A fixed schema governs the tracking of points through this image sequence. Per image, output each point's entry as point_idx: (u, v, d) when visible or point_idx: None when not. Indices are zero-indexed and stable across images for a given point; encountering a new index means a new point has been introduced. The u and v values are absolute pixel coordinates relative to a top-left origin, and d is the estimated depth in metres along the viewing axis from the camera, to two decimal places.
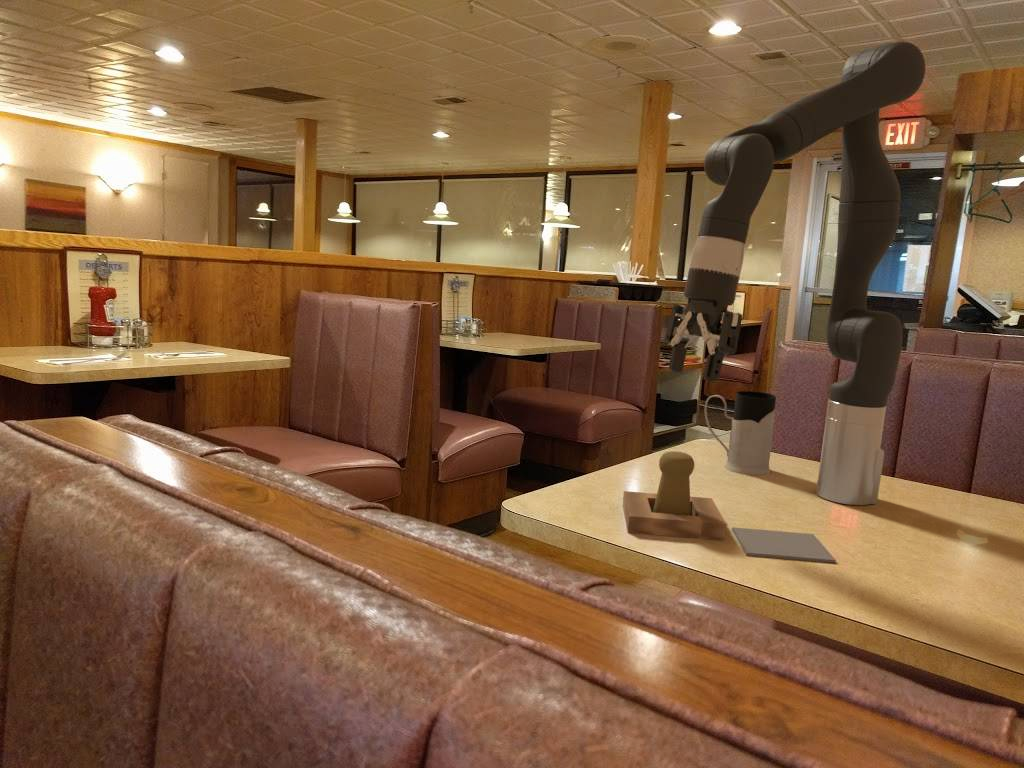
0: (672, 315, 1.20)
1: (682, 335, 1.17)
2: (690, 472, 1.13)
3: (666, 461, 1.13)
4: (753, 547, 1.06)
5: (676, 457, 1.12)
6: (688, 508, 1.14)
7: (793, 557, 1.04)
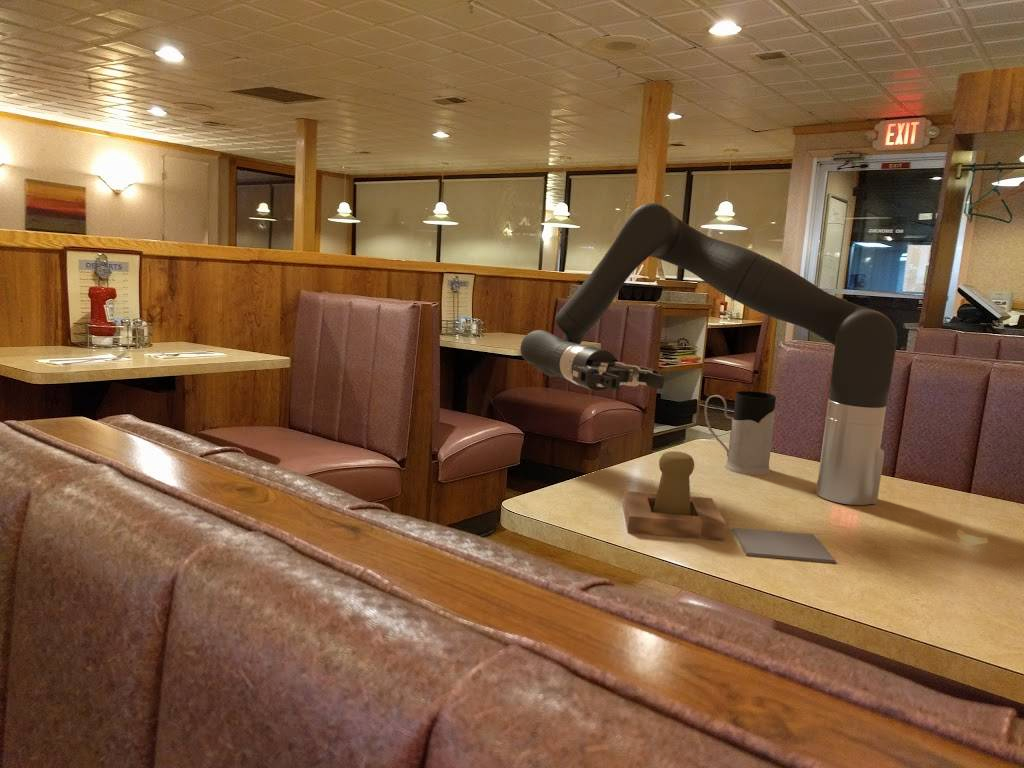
0: None
1: (634, 382, 1.29)
2: (690, 472, 1.13)
3: (666, 461, 1.13)
4: (753, 547, 1.06)
5: (676, 457, 1.12)
6: (688, 508, 1.14)
7: (793, 557, 1.04)
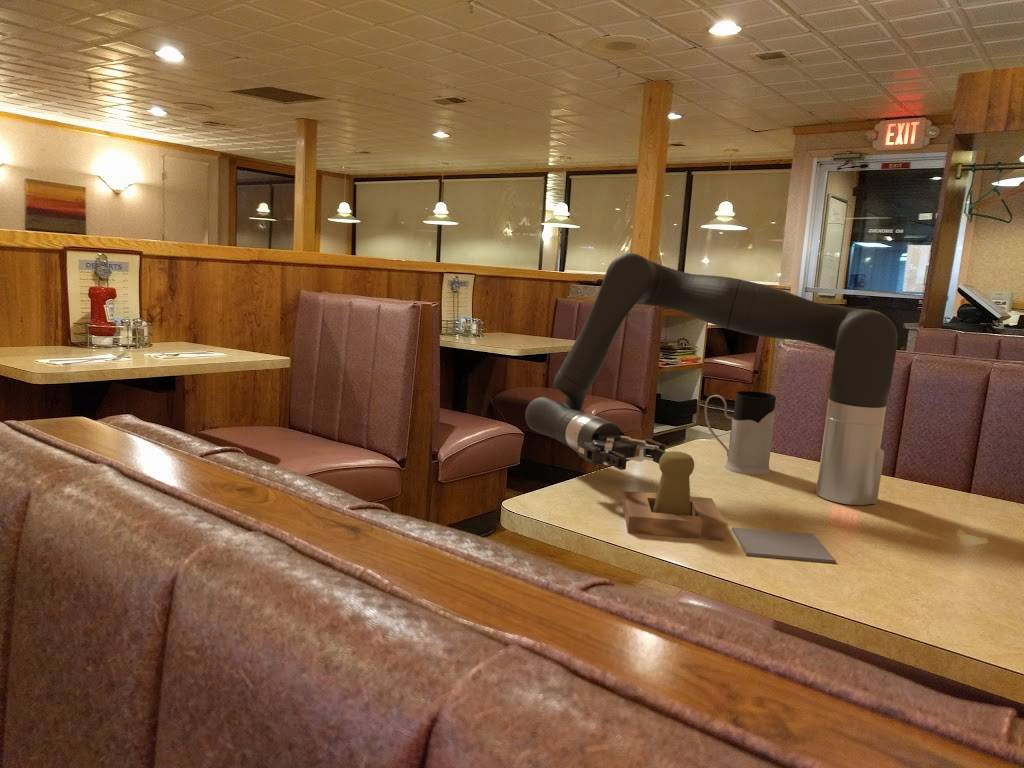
0: None
1: (641, 458, 1.28)
2: (690, 472, 1.13)
3: (666, 461, 1.13)
4: (753, 547, 1.06)
5: (676, 457, 1.12)
6: (688, 508, 1.14)
7: (793, 557, 1.04)
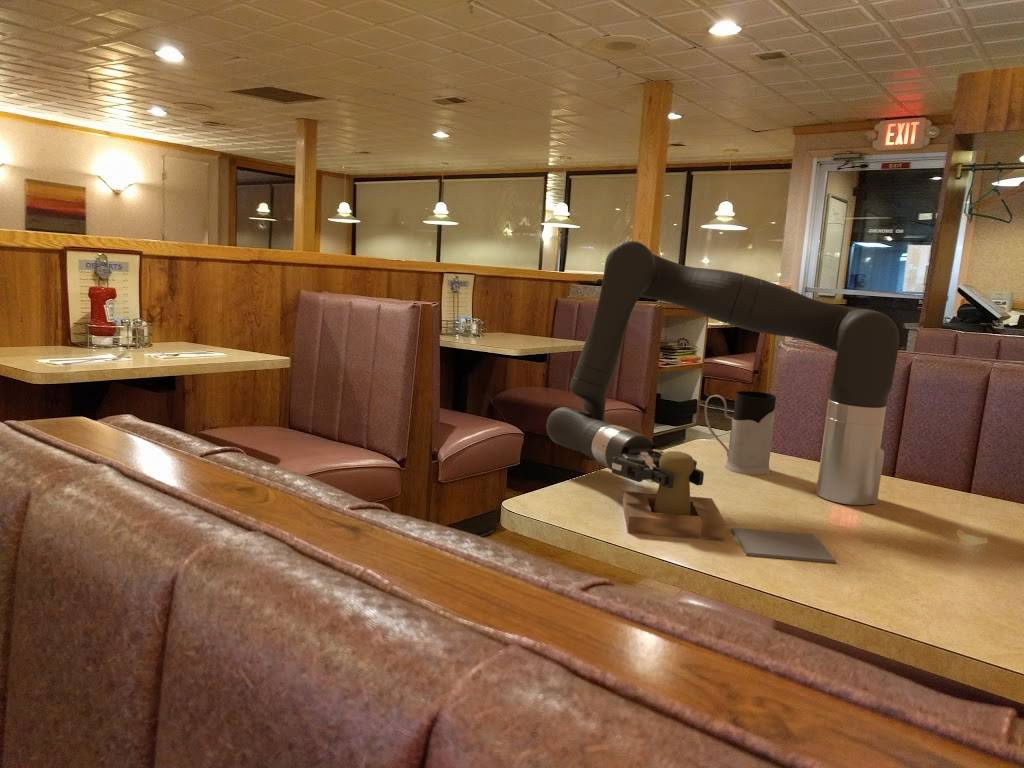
0: None
1: None
2: (690, 472, 1.13)
3: (666, 461, 1.13)
4: (753, 547, 1.06)
5: (676, 457, 1.12)
6: (688, 508, 1.14)
7: (793, 557, 1.04)
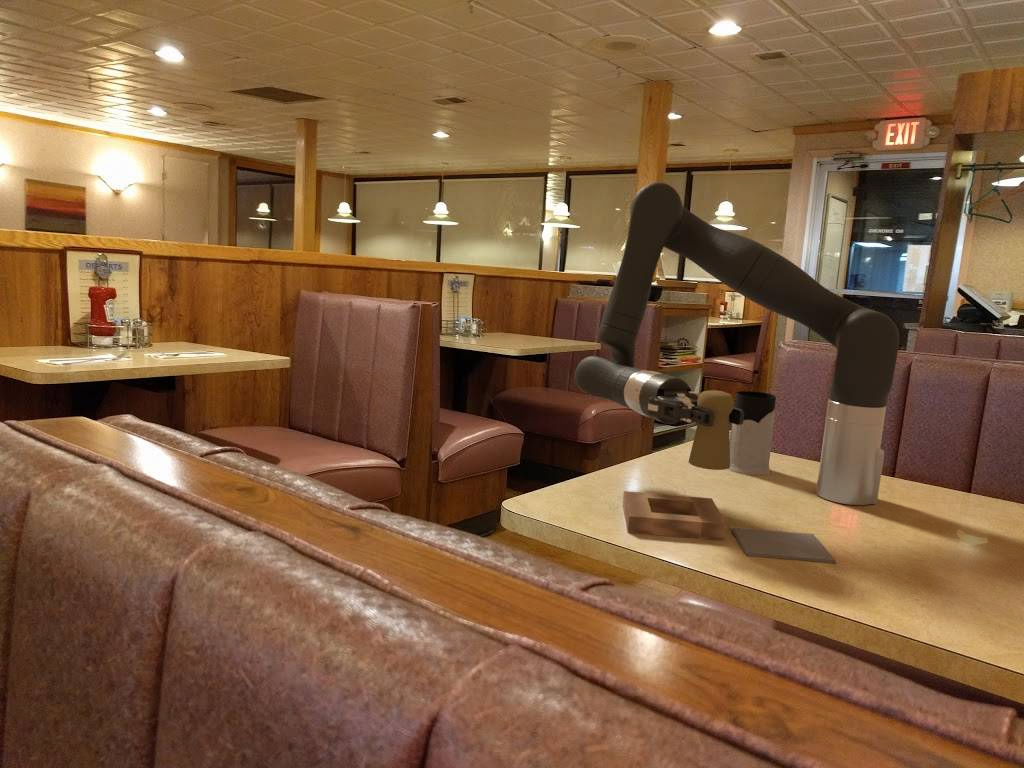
0: None
1: None
2: (730, 410, 1.09)
3: (705, 399, 1.09)
4: (753, 547, 1.06)
5: (716, 394, 1.09)
6: (728, 448, 1.10)
7: (793, 557, 1.04)
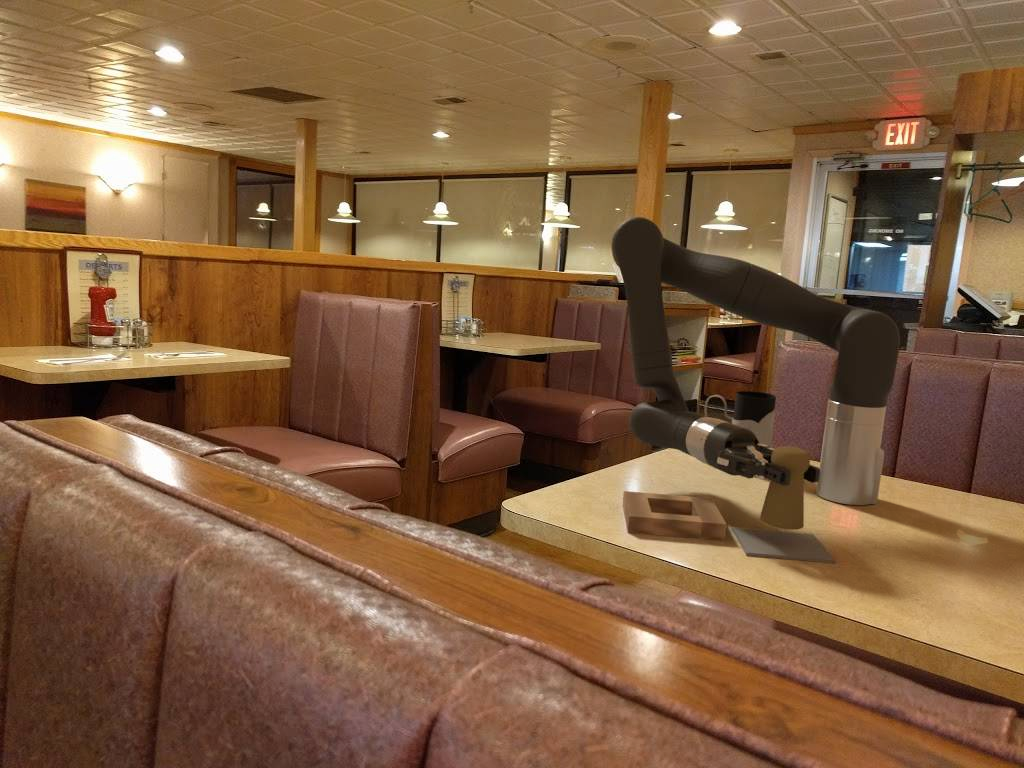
0: None
1: None
2: (806, 468, 1.05)
3: (781, 456, 1.05)
4: (753, 547, 1.06)
5: (792, 452, 1.05)
6: (802, 507, 1.06)
7: (793, 557, 1.04)
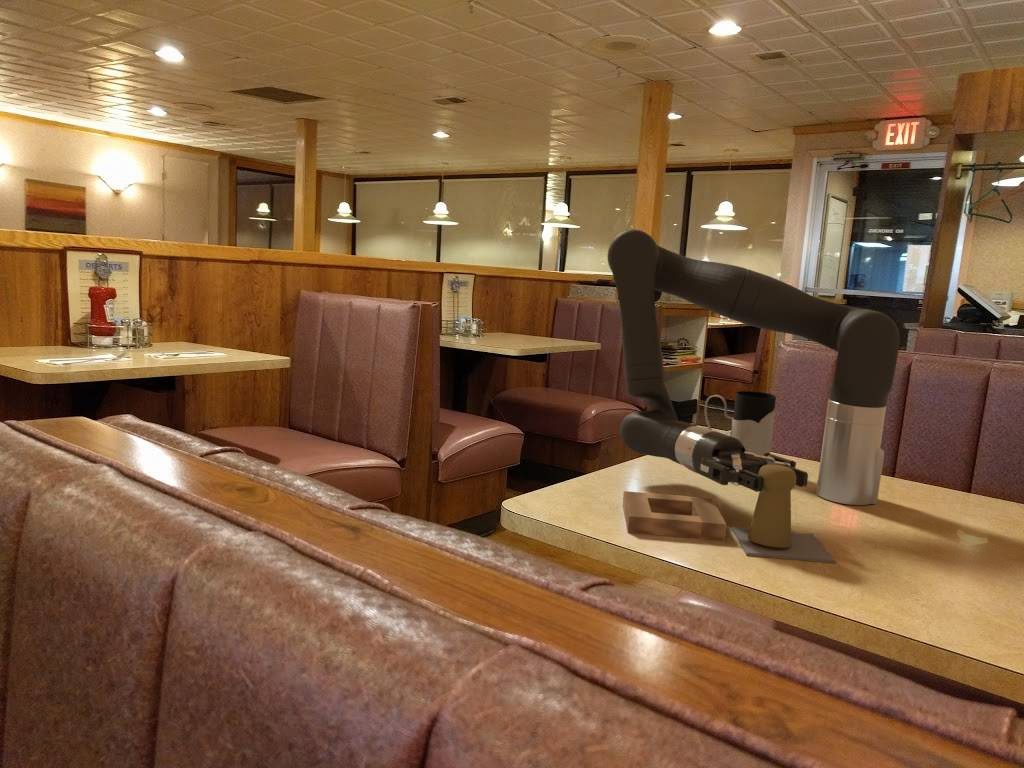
0: None
1: None
2: (793, 486, 1.06)
3: (768, 473, 1.06)
4: (753, 547, 1.06)
5: (778, 469, 1.06)
6: (790, 525, 1.06)
7: (793, 557, 1.04)
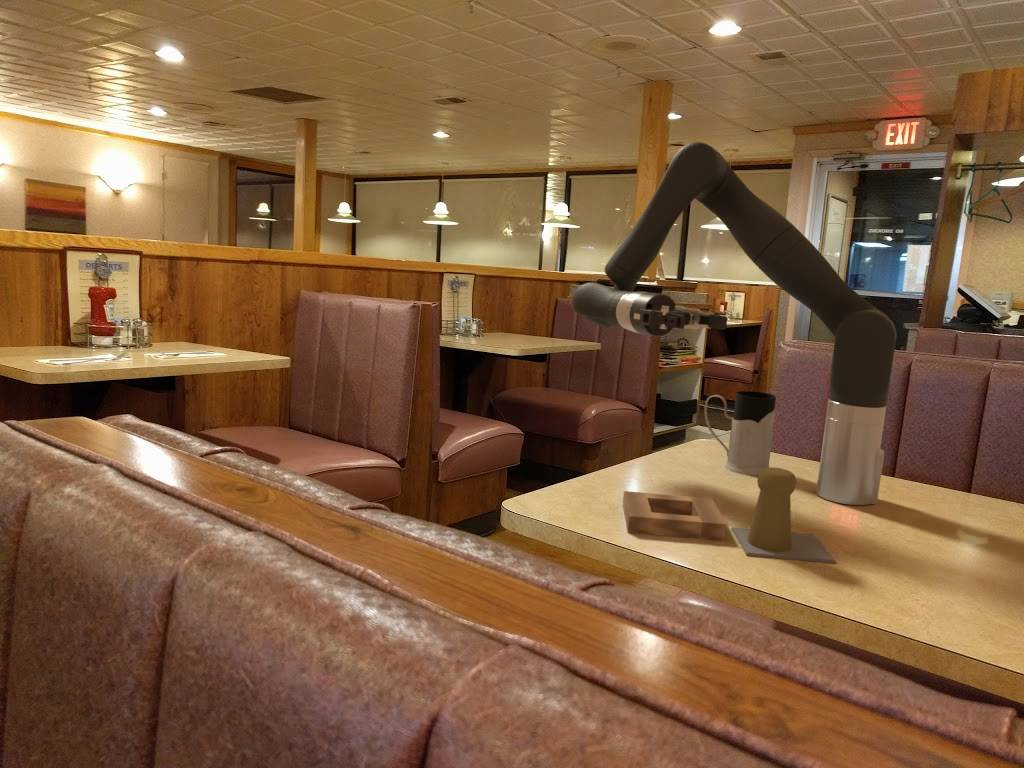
0: None
1: (695, 325, 1.28)
2: (792, 490, 1.05)
3: (767, 478, 1.05)
4: (753, 547, 1.06)
5: (778, 474, 1.05)
6: (789, 528, 1.06)
7: (793, 557, 1.04)
